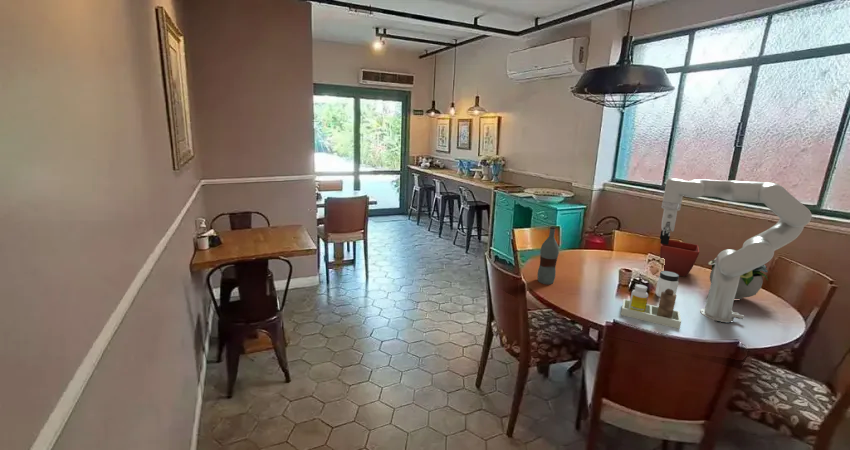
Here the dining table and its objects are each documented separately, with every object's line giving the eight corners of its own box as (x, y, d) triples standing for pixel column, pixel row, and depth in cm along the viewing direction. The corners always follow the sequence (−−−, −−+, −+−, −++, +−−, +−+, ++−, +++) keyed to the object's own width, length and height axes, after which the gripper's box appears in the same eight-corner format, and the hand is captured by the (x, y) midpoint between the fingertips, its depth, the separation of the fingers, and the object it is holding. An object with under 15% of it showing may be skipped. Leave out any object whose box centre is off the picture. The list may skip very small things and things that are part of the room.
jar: (663, 299, 203) (668, 277, 200) (651, 293, 210) (655, 271, 207) (678, 299, 205) (683, 276, 202) (666, 292, 212) (670, 270, 210)
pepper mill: (670, 318, 180) (677, 288, 177) (671, 323, 175) (678, 292, 172) (656, 315, 183) (662, 285, 179) (656, 320, 178) (662, 289, 174)
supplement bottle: (646, 317, 180) (652, 290, 177) (630, 315, 181) (635, 288, 178) (641, 310, 186) (647, 284, 183) (626, 308, 188) (631, 282, 185)
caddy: (677, 319, 181) (679, 311, 180) (679, 330, 171) (681, 321, 170) (622, 306, 191) (623, 299, 190) (620, 316, 181) (622, 308, 180)
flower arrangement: (702, 284, 227) (712, 241, 221) (759, 297, 214) (771, 252, 208) (700, 298, 208) (711, 252, 202) (763, 313, 194) (777, 264, 188)
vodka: (554, 286, 212) (562, 229, 205) (535, 283, 215) (543, 227, 208) (554, 279, 221) (562, 225, 214) (537, 277, 224) (544, 223, 216)
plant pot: (692, 271, 249) (698, 244, 245) (693, 280, 233) (699, 252, 229) (656, 264, 258) (661, 238, 254) (655, 272, 242) (660, 245, 238)
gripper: (681, 209, 179) (673, 247, 183) (679, 204, 194) (672, 239, 198) (662, 207, 183) (654, 244, 187) (661, 202, 198) (654, 236, 202)
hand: (663, 241), depth 193 cm, fingers open, 9 cm apart
